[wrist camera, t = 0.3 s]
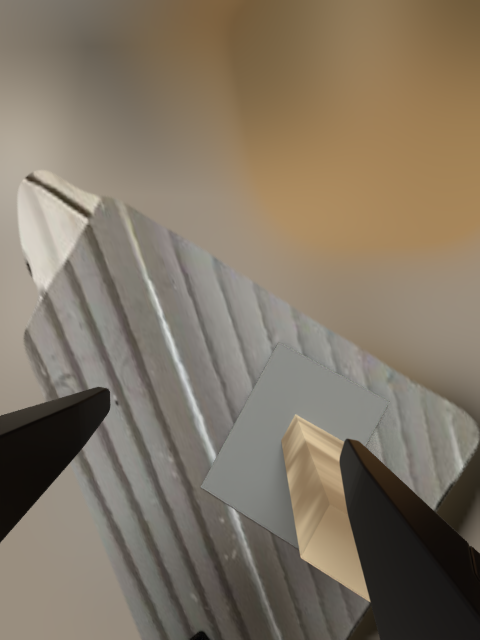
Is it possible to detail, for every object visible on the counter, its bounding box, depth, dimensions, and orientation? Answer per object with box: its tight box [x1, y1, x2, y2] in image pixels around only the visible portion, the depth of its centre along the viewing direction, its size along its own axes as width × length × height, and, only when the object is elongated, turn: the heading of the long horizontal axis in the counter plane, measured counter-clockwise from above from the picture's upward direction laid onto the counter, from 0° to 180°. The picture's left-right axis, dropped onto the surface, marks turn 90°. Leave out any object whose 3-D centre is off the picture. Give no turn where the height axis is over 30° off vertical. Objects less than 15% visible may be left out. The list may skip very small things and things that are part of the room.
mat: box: [201, 342, 390, 549], centre depth 23 cm, size 17×12×1 cm
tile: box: [281, 414, 370, 602], centre depth 17 cm, size 3×6×12 cm, turn 62°
